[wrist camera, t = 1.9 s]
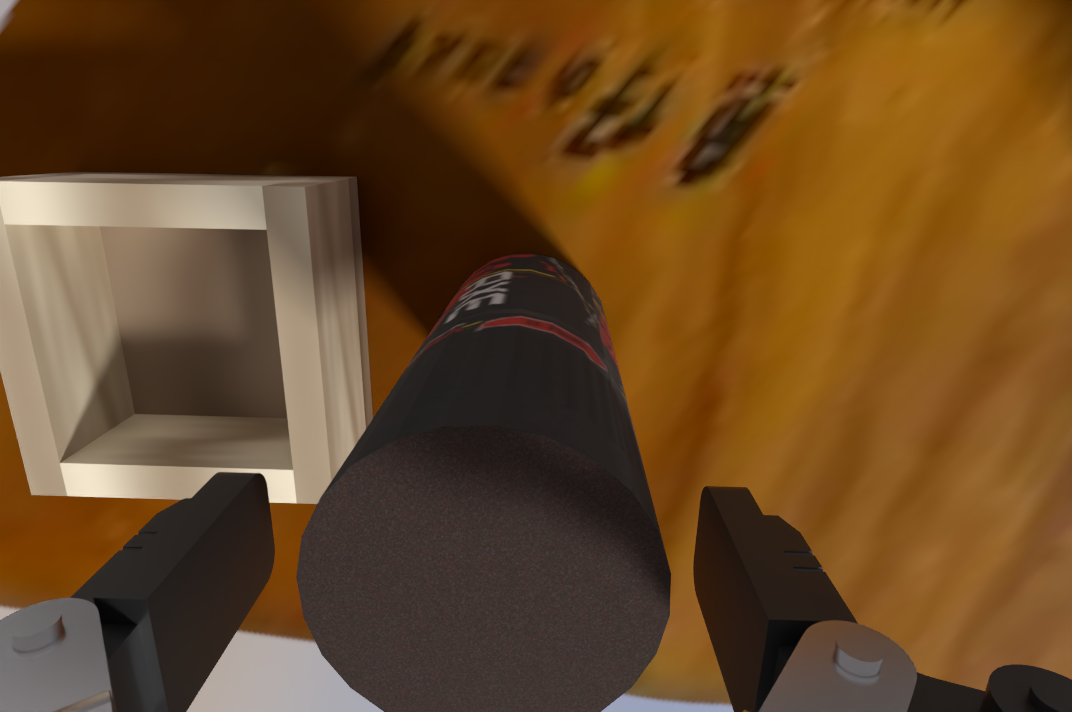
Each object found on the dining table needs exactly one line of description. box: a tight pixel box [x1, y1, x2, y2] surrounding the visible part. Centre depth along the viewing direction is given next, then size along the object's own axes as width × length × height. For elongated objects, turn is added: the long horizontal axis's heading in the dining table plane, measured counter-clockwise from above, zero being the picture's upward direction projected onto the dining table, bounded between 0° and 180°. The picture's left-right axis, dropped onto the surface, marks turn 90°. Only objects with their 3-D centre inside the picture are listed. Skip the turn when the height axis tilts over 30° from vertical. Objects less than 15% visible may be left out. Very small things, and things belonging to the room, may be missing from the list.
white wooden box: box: [0, 172, 373, 504], centre depth 23 cm, size 10×10×5 cm
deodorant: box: [297, 253, 671, 712], centre depth 18 cm, size 6×6×15 cm
